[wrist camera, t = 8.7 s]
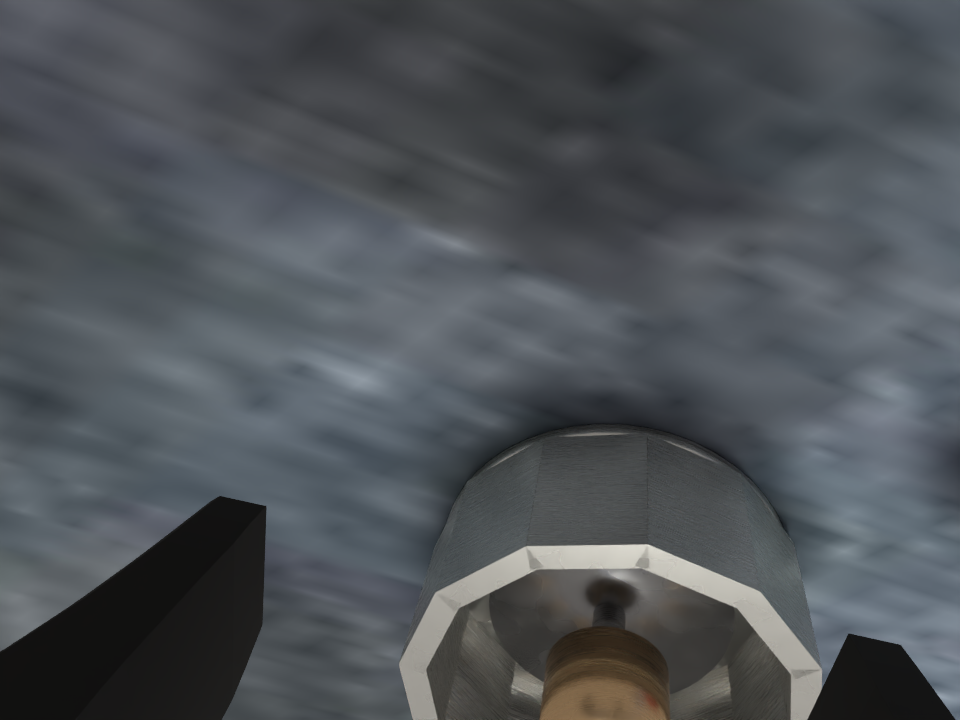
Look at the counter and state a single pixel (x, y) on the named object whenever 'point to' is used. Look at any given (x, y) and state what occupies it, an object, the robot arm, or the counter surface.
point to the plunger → (609, 639)
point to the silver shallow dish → (612, 545)
